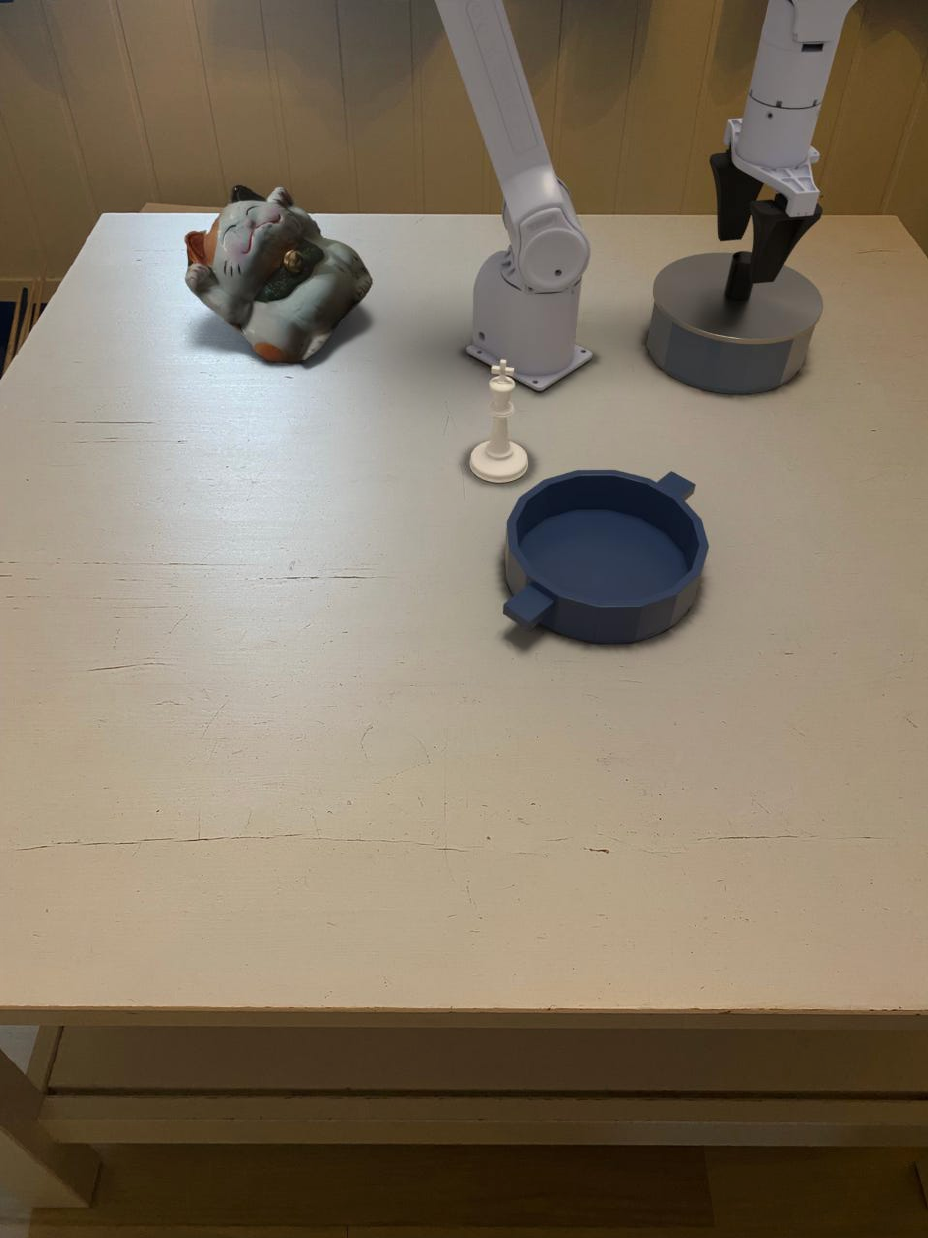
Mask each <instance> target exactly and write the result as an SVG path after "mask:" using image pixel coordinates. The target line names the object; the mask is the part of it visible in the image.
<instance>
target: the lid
mask: <svg viewBox="0 0 928 1238" xmlns="http://www.w3.org/2000/svg"><path fill="white" fill-rule="evenodd" d="M751 255H752V251H747V250H740V251H736V252H707V253H706V252H705V253H699V254H698V253H697V254H693V255H688V256H685V257H682V258H679V259H677V260H674V261H673V262H670V263H668V264H666V266H665V267H663V268H662V269H661V270H660V271H659V272H658V274H656V276H655V278H654V281H653V284H652V285H653V286H652V298H653V300H654V301H655V303H656V305H657V307H658V308H659V309H660V311H661V312H662V313H663V314H664V315H665V316H666V317H667V318H669V319H670V320H671V321H673V322H674V323H676V324H677V325H679V326H681V327H682V328H684V329H686V330H688V331H691V332H693V333H695V334H698V335H701V336H704V337H707V338H711V339H714V340H719V341H724V342H730V343H738V344H770V343H777V342H783V341H787V340H790V339H793V338H796V337H798V336H801V335H803V334H804V333H806V332H808V331H809V330H810V329H812V328H813V327H814V326H815V327H816V325H817V324H818V323H819V321H820V319H821V317H822V314H823V311H824V300H823V296H822V294H821V292H820V291H819V289H818V288H817V287H816V285H815V284H814V283H813V282H812V281H811V280H810V279H809V278H808V277H806V276H805V275H804V274H802V273H800V272H799V271H797V270H795V269H793V268H791V267H789V266H787V265H786V264H784V265H783V267H782V269H781V270H780V272H779V274H778V276H777V277H776V279H775V281H774V282H767V283H756V284H753V283H752V282H751V281H750V275H749V271H750V261H751ZM654 301H653V302H654Z"/></svg>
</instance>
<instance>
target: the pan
mask: <svg viewBox="0 0 928 1238" xmlns="http://www.w3.org/2000/svg"><path fill="white" fill-rule="evenodd" d="M696 486H697V484H696V483H694V482H692V481H691V480H688V479H687V478H685V477H683V476H682V475H680V474H677V473H676V472H674V471H672V470H670V471H669V472H668V473H666V474H665V475H664V476H663V477H662V478H660V479H659V480H657V481H655V480H653V479H651V478H649V477H646V476H643V475H637V474H634V473H629V472H625V471H621V470H618V469H575V470H573V471H570V472H566V473H562V474H558V475H555V476H552V477H548V478H544V479H543V480H541V481H540V482H539V483H537V484H536V485H534V486H533V487H531V488H530V489H528V490H527V491H526V492H524V493H523V494H522V495H520V496H519V497H518V499H517V501H516V503H515V504H514V506H513V507H512V508H513V509H512V510H511V512H510V514H509V516H508V518H507V521H506V524H505V525H506V527H505V544H504V563H505V578H506V583H507V586H508V588H509V591H510V592H511V594H512V597H510V598H509V599H508V600H507V601H505V602H504V603H503V604H502V605H503V606H502V614H503V615H504V616H506V617H507V618H509V619H510V620H511V621H513V622H514V623H515V624H517V625H519V626H520V627H521V628H523V629H524V630H525V631H527V632H529V631H531V630H532V629H533V628H535V626H538V624H540V625H542V626H544V627H546V628H548V629H549V630H551V631H554V632H556V633H558V634H559V635H561V636H562V635H563V636H565V637H568V638H571V639H575V640H578V641H583V642H588V643H595V644H608V645H609V644H611V645H615V644H627V643H634V642H639V641H643V640H647V639H649V638H652V637H655V636H657V635H659V634H661V633H663V632H665V631H667V630H668V629H670V628H672V627H673V626H674V625H675V624H677V623H678V622H679V621H680V620H681V619H682V618H683V617H684V616H685V615H686V614H687V613H688V612H689V610H690V608H691V607H692V606H693V603H694V601H695V597H696V594H697V592H698V591H697V590H698V587H699V584H700V581H701V578H702V573H703V571H704V567H705V563H706V559H707V556H708V553H709V548H710V545H709V541H708V536H707V534H706V530H705V526H704V523H703V519H702V518H701V517H700V516H699V515H698V514H697V513H696V511H695V510H694V509H693V508H692V507H691V506H690V505H689V504H688V502H687V500H688V499H689V498H691V496H693V495H694V493H695V490H696Z"/></svg>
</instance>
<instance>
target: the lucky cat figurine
mask: <svg viewBox="0 0 928 1238" xmlns="http://www.w3.org/2000/svg"><path fill="white" fill-rule="evenodd" d="M230 192H231V193H230V197H229V199H228V203H227V205H226V206H224V207H223V208H222V209H221V211H220V212H219V213H218V215H217V217H216V218H215V219H214V221H213V223H212V225H211V227H210V229H209V231H208V232H207V229H204V230H200V231H197V230H191V231H189V232H188V233H187V234H186V235H184V239H183V240H184V243H185V245H186V257H187V268H186V269H187V270H186V272H185V275H184V282H185V284H186V286H187V287H188V289H189V290H190V292H191V293H192V294H193V295H195V296H196V297H197V298H198V299H199V300H200V301H201V303H202V304H203V305H204V306H206V307H207V308H208V309H209V310H211V311H213V312H214V313H215V314H216V315H217V316H218V317H219V318H220V319H222V320H223V321H224V323H227V324H228V325H229V326H230V327H232V328H233V329H235V330H236V331H237V332H238V333H239V334H240V335H241V336H243V338H244V339H246V341H248V342H249V343H250V344H251V346H252V348H253V351H254V352H255V353H256V354H257V355H259V356H260V357H261V358H263V359H264V360H266V361H268V362H276V363H292V364H298V363H300V362H301V360H303V361H306V360H307V359H308V358H309V357H310V356H312V355H313V354H315V353H317V352H318V351H320V349H322V347H324V345H325V343H327V341H328V340H329V338H330V336H331V335H332V333H333V332H334V331H335V330H336V329H337V328H338V326H339V325H340V324H341V323H342V322H343V321H344V319H346V317H348V315H350V314H351V312H352V311H353V310H355V308H356V307H357V306H358V305H359V304H360V303H361V302H362V301H363V300H364V299H365V298H366V297H367V294H368V293H369V292H370V290H371V289H372V286H373V284H374V279H373V277H372V275H371V273H370V271H369V269H368V268H367V266H366V265H365V263H364V261H363V260H362V258H361V256H360V255H359V253H358V252H357V251H356V250H355V249H354V248H353V247H351V245H350V246H349V245H348V244H346V243H345V242H342V241H339V240H336V239H332V238H327V237H324V236H323V235H322V233H321V232H322V231H321V229H320V227H319V225H318V223H317V220H315V219H313V218H312V217H311V215H310V214H309V213H308V212H307V211H305V210H304V209H303V208H301V207H300V206H298V205H296V204H295V202H294V200H293V198H292V195H291V194H290V193H289V191H288V190H287V189H286V188H285V187H282V186H278V187H275V188H274V190H273V191H272V192H271V193H270V194H269V196H268V197H267V198H266V197H264V196H263V195H261V194H258V193H256V192H255V191H253V189H251V188H249V187H247V186H246V185H243V184H236V185H234V186H232V187H231V191H230Z"/></svg>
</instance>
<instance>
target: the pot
mask: <svg viewBox="0 0 928 1238" xmlns="http://www.w3.org/2000/svg"><path fill="white" fill-rule="evenodd" d="M815 328H816V325H815V326H814V327H813V328H812V329H810V330H809V331H808V332H806V333H804V334H803V335H801V336H798V337H796V338H793V339H790V340H787V341H783V342H777V343H770V344H738V343H730V342H724V341H719V340H714V339H711V338H707V337H704V336H701V335H698V334H695V333H693V332H691V331H688V330H686V329H684V328H682V327H681V326H679V325H677V324H676V323H674V322H673V321H671V320H670V319H669V318H667V317H666V316H665V315H664V314H663V313H662V312H661V311H660V309H659V308H658V307H657V305H656V303H655V301H653V305H652V312H651V318H650V323H649V328H648V334H647V340H646V345H645V346H646V348H647V351H648V353H649V355H650V357H651V359H652V360H653V361H654V363H655V364H656V365H657V367H659V368H660V369H661V370H662V371H663V372H665V373H666V374H668V375H669V376H671V377H672V378H674V379H675V380H677V381H679V382H682V383H684V384H686V385H688V386H691V387H694V388H696V389H701V390H705V391H708V392H714V393H719V394H728V395H729V394H731V395H744V394H745V395H747V394H749V395H750V394H755V393H762V392H766V391H770V390H773V389H776V388H778V387H780V386H783V385H784V384H786V383H788V382H789V381H791V379H792V378H794V377H795V375H796V374H797V373H798V371H799V370H800V369H802V368H803V365H804V362H805V359H806V356H807V353H808V350H809V347H810V344H811V340H812V337H813V334H814V331H815Z"/></svg>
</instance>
